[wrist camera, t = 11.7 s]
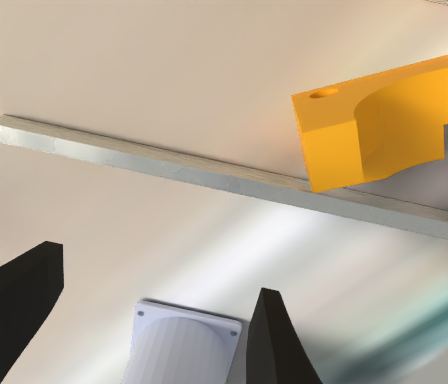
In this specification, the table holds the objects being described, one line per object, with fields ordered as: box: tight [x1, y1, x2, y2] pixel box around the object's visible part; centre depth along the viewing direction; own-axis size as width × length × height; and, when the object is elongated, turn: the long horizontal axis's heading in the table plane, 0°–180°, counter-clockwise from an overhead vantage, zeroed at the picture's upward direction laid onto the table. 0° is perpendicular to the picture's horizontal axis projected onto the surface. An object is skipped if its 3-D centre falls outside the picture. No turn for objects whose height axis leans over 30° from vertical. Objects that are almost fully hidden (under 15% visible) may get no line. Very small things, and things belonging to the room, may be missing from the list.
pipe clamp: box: [291, 55, 448, 193], centre depth 16 cm, size 12×4×6 cm, turn 106°
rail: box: [0, 0, 448, 239], centre depth 18 cm, size 12×30×3 cm, turn 79°
